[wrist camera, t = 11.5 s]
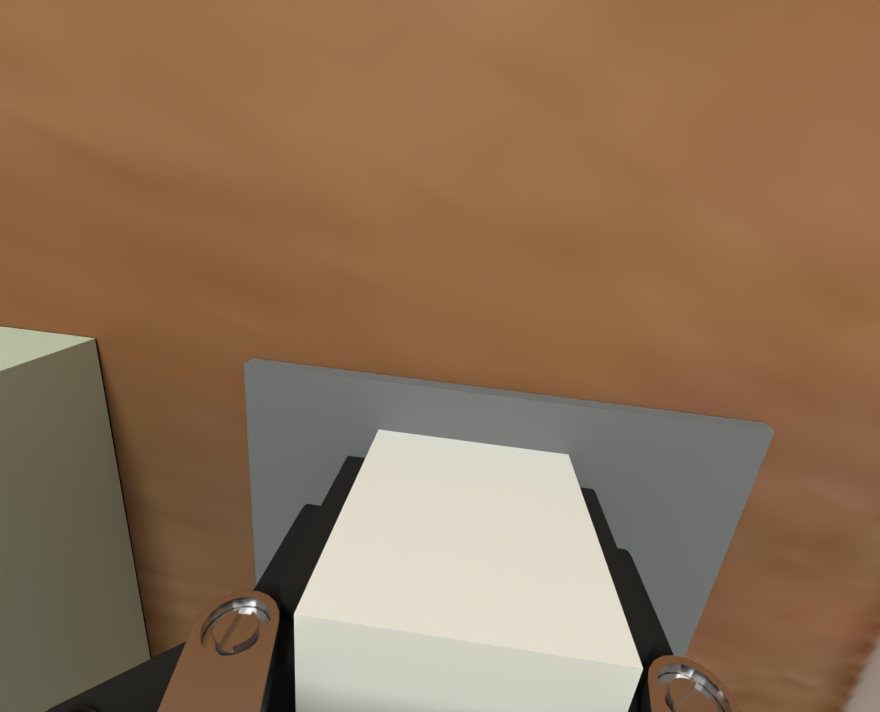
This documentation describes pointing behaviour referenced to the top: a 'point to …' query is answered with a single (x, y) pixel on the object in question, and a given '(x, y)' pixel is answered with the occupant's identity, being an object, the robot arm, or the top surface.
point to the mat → (529, 427)
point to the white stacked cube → (462, 589)
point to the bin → (60, 527)
